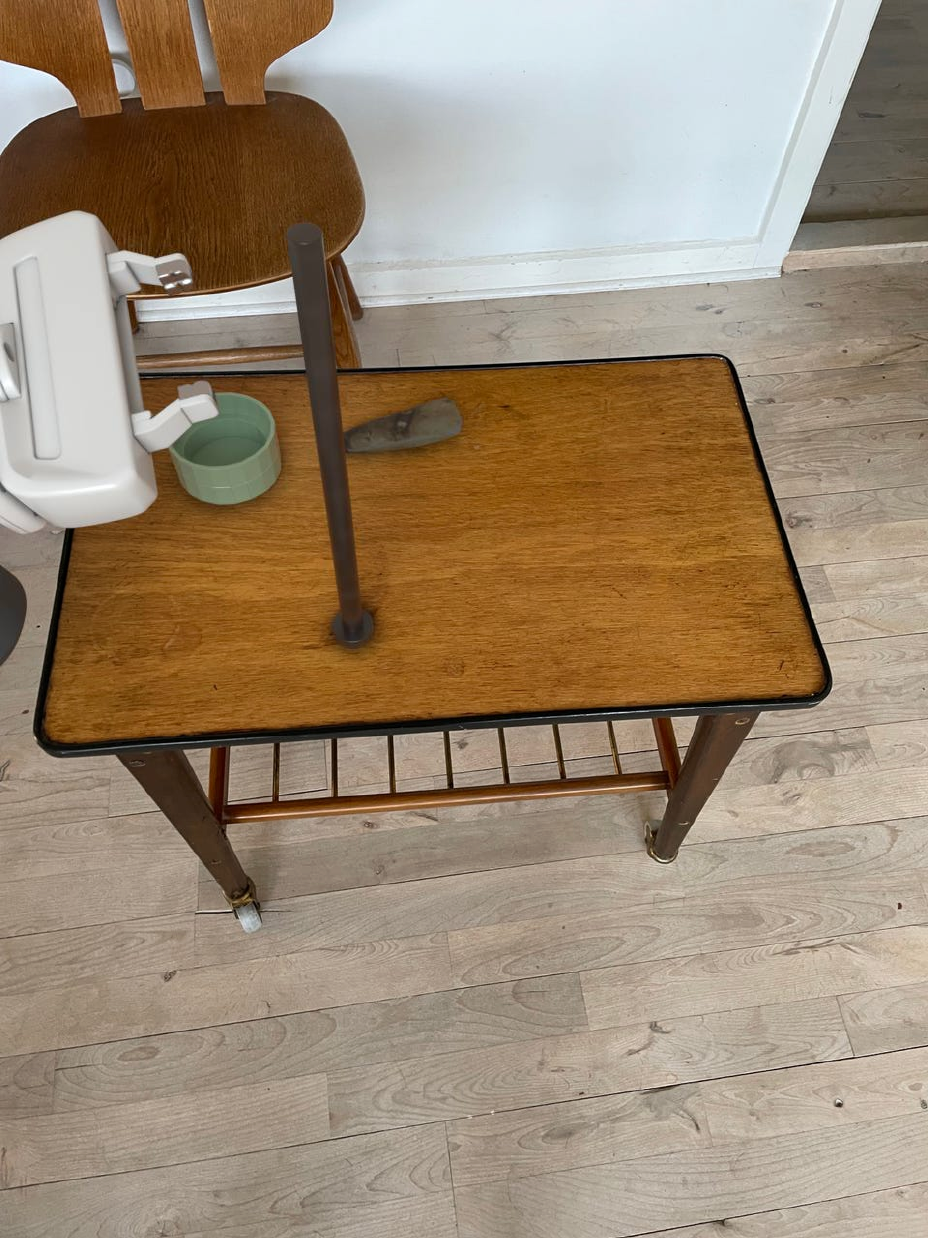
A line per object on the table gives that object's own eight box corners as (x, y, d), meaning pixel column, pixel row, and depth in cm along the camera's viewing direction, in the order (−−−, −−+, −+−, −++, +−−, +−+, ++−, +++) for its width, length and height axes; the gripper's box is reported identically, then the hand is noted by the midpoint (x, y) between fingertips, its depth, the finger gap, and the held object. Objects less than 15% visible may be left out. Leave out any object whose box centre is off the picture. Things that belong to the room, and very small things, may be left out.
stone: (451, 408, 90) (451, 391, 88) (468, 439, 88) (469, 423, 86) (333, 439, 87) (331, 423, 85) (348, 473, 85) (346, 457, 83)
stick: (324, 637, 74) (252, 237, 42) (348, 608, 76) (296, 203, 44) (358, 656, 73) (311, 263, 41) (382, 626, 75) (354, 227, 43)
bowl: (157, 480, 83) (142, 440, 78) (224, 419, 88) (213, 378, 83) (238, 524, 80) (227, 485, 76) (302, 459, 85) (296, 418, 81)
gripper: (-4, 288, 57) (194, 236, 58) (24, 559, 51) (246, 499, 51) (-66, 218, 51) (155, 160, 52) (-42, 515, 45) (209, 448, 45)
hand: (201, 332), depth 51 cm, fingers open, 8 cm apart
